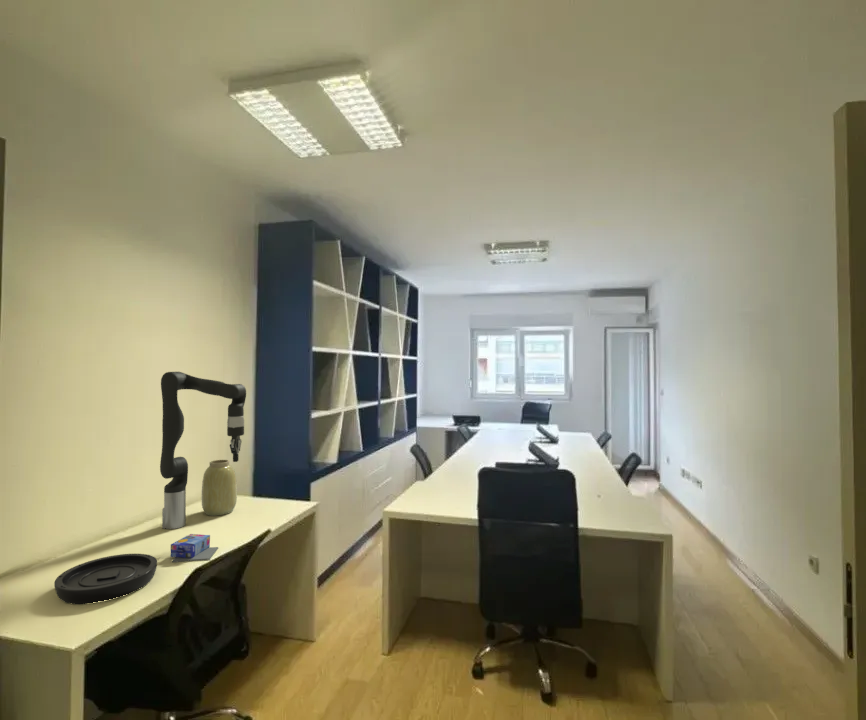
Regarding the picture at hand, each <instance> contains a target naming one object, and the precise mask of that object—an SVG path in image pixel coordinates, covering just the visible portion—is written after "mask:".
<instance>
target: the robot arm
mask: <svg viewBox="0 0 866 720" xmlns="http://www.w3.org/2000/svg"><path fill="white" fill-rule="evenodd" d="M160 388H161V389H160V390H161V397H162V398H161V400H162V420H161V421H162V429H161V430H162V431H161V432H162V440H161V441H162V442H161V443H162V445H161V457H160V462H159V463H160V464H159V465H160V466H159V470H160V475H161V477H162V478H164V479H166V480H167V479H171V480H170V481H169V482H168V483H167V484H165V486H164V487H163V489H164V490H163V491H164V492H163V498H164V499H163V505H164V506H163V508H162V509H161V510H162V511H161V512H162V516H161V517H162V518H161V519H162V521H161V522H162V525H161V526H162V529H165V528H166V529H165V530H174V529H180V528H183V527H185V526H186V516H187V515H186V511H187V510H186V508H187V507H186V505H187V503H186V502H187V501H186V499H187V498H186V497H187V496H186V495H187V490H186V489H187V487H186V486H187V485H188V475H189V464H188V461H187V459H186V458H185V457H184V456H177V457H176V456H175V450H176V447H177V445H178V443H179V442H180V440H181V438H182V437H183V436H182V435H183V433H184V431H185V430H184V429H185V417H184V413H183V411H182V409H181V407H180V404H179V402H178V391H181V390H191V391H192V390H193V391H198V392H200V393H203V394H206V395H210V396H211V395H212V396H216V397H217V396H218V397H221V398H224V399H229V400H231V403H230V404H228V407H227V422H226V426H227V427H226V429H227V430H226V435H227V436H228V437H231V439H230V440H229V441H230V442H229V448H230V453H231V455H232V462H233V463H238V462H239V454H240V451H241V448H242V447H241V446H242V441H243V440H242V439H241V436H244V435H245V418H244V417H245V416H244V414H245V412H244V411H245V410H244V409H245V407H244V406H245V403H246V398H247V389H246V386H245V385H243V384H242V383H235V384H233V383H232V384H231V383H227V382H224V381H221V380H216V379H215V380H214V379H206V378H201V377H196V376H193V375H190V374H188V373H185V372H182V371H168V372H167V371H166V372H165V373H163V375H162V376H161V379H160Z"/></svg>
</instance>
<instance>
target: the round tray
mask: <svg viewBox="0 0 866 720" xmlns="http://www.w3.org/2000/svg"><path fill="white" fill-rule="evenodd" d="M157 566H158V560H157V558H156V557H154V556H153V555H152V554H151V555H150V554H146V553H122V554H115V555H108V556H104V557H100V558H96V559H92V560H88V561H86V562H82V563H80V564H78V565H75V566H73V567H71V568H69V569H67V570H65V571H63V572H62V573H61V574H59V575H58V576H57V577H56V578H55V580H54V583H53V584H54V590H55V594H56V595H57V597H58V599H59V600H60V601H62V602H63V603H66V604H69V603H72V604H71V605H86V604H85V603H93V602H98V601H104V600H109V599H113V598H116V597H120V596H123V595H126V594H128V595H130V594H129V593H131V592H133V591H135V590H137V589H139V588H141V587H142V588H144V587H145V586H147V585H148V584H149V583H150V582H151V581H152V579H153V578H154V576H155V575H156V571H157ZM148 582H149V583H148ZM147 583H148V584H147ZM146 584H147V585H146ZM144 585H145V586H144ZM143 586H144V587H143ZM142 588H141V589H142ZM139 590H140V589H139ZM137 591H138V590H137ZM135 592H136V591H135ZM133 593H134V592H133ZM131 594H132V593H131ZM126 596H127V595H126ZM123 597H124V596H123ZM120 598H121V597H120ZM113 600H114V599H113ZM109 601H110V600H109ZM93 604H94V603H93Z"/></svg>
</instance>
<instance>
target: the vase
mask: <svg viewBox="0 0 866 720" xmlns="http://www.w3.org/2000/svg"><path fill="white" fill-rule="evenodd" d="M202 477H203V478H202V483H201V508H202V510H203V512H204V513H205V514H206V515H207V516H213V517H215V516H223V515H224V516H225V515H228V514H230V513H232V512H233V511H234V509H235V507H236V505H237V502H238V500H237V499H238V488H237V487H238V485H237V476H236V472H235V469H234V467H233V466H232V465H231V464H230V460H229V459H216V460H215V459H214V460H211V461H209V466H208V467H207V468H206V469H205V471H204V472H203V476H202Z"/></svg>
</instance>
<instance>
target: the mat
mask: <svg viewBox="0 0 866 720" xmlns="http://www.w3.org/2000/svg"><path fill="white" fill-rule="evenodd" d="M218 549H219V546H213V547H209V548H207V549H206V550H204V551H202V552H201V553H199V554H198V555H196V556H194V557H193V558H183V557H173V559H172V560H171V562H172V563H179V562H180V563H182V562H195V561H197V562H198V561H210V560H211V559H212V557H213V556H214V554H215V553H216V552H217V551H218Z"/></svg>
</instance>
